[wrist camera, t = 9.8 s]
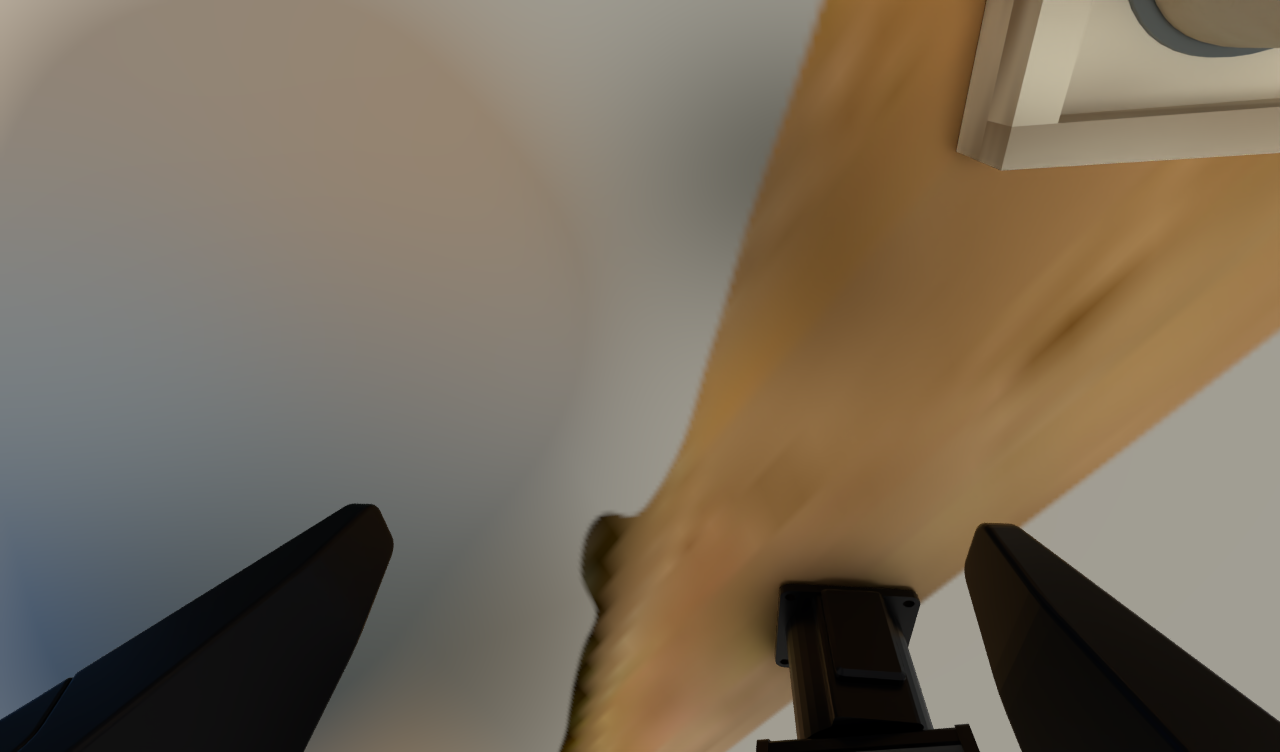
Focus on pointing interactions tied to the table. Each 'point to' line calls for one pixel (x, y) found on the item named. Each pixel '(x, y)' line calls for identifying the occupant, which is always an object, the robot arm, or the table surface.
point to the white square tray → (1111, 88)
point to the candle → (1226, 21)
